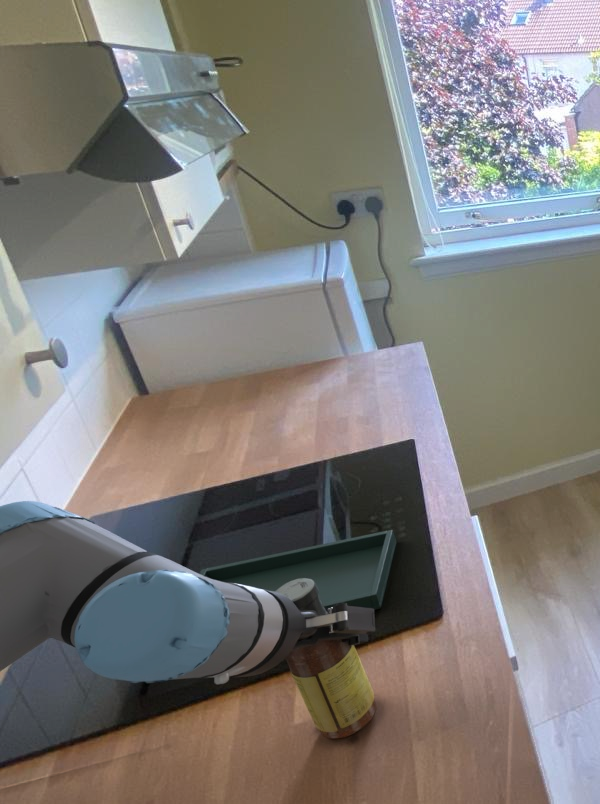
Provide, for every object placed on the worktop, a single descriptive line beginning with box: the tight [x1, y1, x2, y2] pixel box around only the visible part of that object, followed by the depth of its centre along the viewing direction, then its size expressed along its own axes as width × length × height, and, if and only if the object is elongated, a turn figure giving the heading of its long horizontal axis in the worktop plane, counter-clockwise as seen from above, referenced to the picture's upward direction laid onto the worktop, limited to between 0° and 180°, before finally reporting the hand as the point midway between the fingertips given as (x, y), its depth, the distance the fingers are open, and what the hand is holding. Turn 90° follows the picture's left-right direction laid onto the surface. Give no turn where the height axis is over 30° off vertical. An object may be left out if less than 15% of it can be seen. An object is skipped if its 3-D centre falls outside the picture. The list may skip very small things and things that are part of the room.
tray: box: [198, 529, 397, 612], centre depth 106 cm, size 26×16×3 cm, turn 109°
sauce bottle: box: [275, 578, 377, 740], centre depth 83 cm, size 6×6×20 cm
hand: (331, 638), depth 86 cm, fingers closed on sauce bottle, 6 cm apart
